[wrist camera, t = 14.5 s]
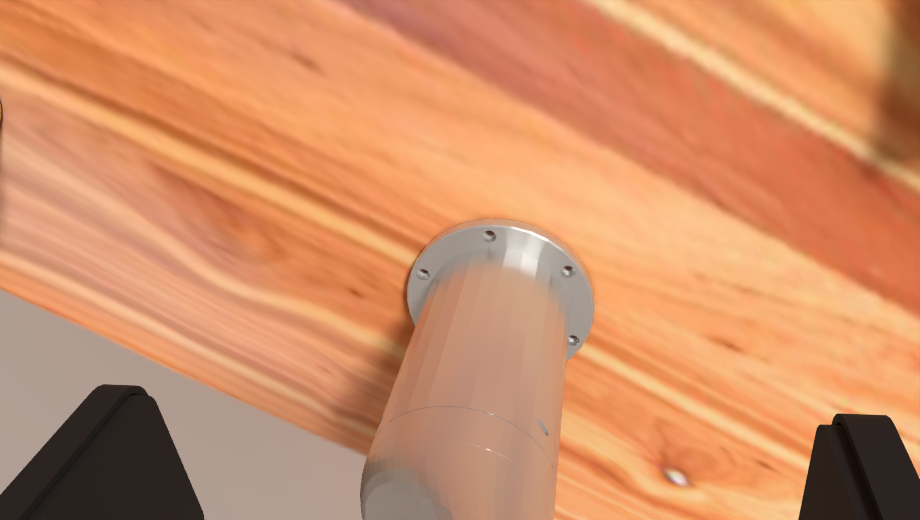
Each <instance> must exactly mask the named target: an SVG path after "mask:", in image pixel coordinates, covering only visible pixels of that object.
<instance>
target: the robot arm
mask: <svg viewBox="0 0 920 520" xmlns="http://www.w3.org/2000/svg"><path fill="white" fill-rule="evenodd" d="M488 230H489V231H492V232H489V231H488ZM567 266H571V267H567ZM407 303H408V307H409V312H410V316H411V318H412V320H413V323H414V325H415V329H414V332H413V335H412V337H411V340H410V343H409V345H408V348H407V351H406V354H405V356H404V359H403V362H402V364H401V367H400V370H399V372H398V375H397V378H396V380H395V383H394V386H393V389H392V391H391V394H390V397H389V399H388V402H387V405H386V407H385V410H384V413H383V415H382V418H381V421H380V424H379V426H378V429H377V432H376V434H375V437H374V440H373V442H372V445H371V448H370V451H369V454H368V457H367V459H366V462H365V465H364V469H363V474H362V481H361V492H360V498H361V512H362V518H363V520H554V511H555V497H556V480H557V467H558V455H559V442H560V430H561V417H562V404H563V392H564V379H565V367H566V361H567V360H569V359H570V358H572V356H573V355H574V354H575V353H576V352H577V351H578V350H579V349H580V348H581V347H582V345H583V344H584V342H585V340H586V339H587V337H588V335H589V332H590V329H591V326H592V323H593V317H594V291H593V287H592V284H591V280H590V277H589V275H588V273H587V271H586V269H585V268H584V266H583V264H582V262H581V261H580V260H579V258H578V257H577V256H576V255H575V254H574V253H573V251H572V250H571V249H570V248H569V247H567V246H566V245H565V244H564V243H563V242H561V241H560V240H559V239H558V238H556V237H555V236H553V235H551V234H549V233H547V232H546V231H544V230H542V229H540V228H537V227H535V226H532V225H529V224H526V223H523V222H518V221H513V220H507V219H481V220H475V221H469V222H465V223H462V224H459V225H457V226H454V227H451V228H449V229H448V230H446V231H444V232H443V233H441V234H439V235H438V236H436V237H435V238H434V239H433V240H432V241H431V242H430V243H429V244H428V245H427V246H425V248H424V249H423V251H422V252H421V254H420V255H419V256H418V258H417V259H416V262H415V264H414V266H413V268H412V271H411V274H410V278H409V282H408V285H407ZM0 520H204V514H203V511H202V509H201V506H200V504H199V502H198V499H197V497H196V494H195V492H194V490H193V488H192V485H191V483H190V480H189V478H188V476H187V473H186V471H185V469H184V466H183V464H182V462H181V459H180V457H179V455H178V452H177V450H176V448H175V445H174V443H173V440H172V438H171V436H170V434H169V431H168V429H167V426H166V424H165V422H164V419H163V417H162V415H161V412H160V410H159V408H158V405H157V403H156V401H155V400H154V398H152V397H151V396H148V394H147V392H146V391H145V389H143V388H142V387H140V386H130V385H107V384H106V385H105V384H104V385H101V386H98V387H97V388H96V389H95V390H93V391H92V392H91V393H90V394H89V395H88V397H87V398H86V399H85V400H84V401H83V402H82V403H81V404H80V406H79V407H78V408H77V409H76V410H75V411H74V412H73V414H72V415H71V416H70V417H69V418H68V419H67V420H66V421H65V423H64V424H63V425H62V426H61V427H60V428H59V429H58V430H57V432H56V433H55V434H54V435H53V436H52V437H51V438H50V439H49V441H48V442H47V443H46V444H45V445H44V446H43V447H42V449H41V450H40V451H39V452H38V453H37V454H36V455H35V456H34V458H33V459H32V460H31V461H30V462H29V463H28V464H27V465H26V467H25V468H24V469H23V470H22V471H21V472H20V473H19V474H18V476H17V477H16V478H15V479H14V480H13V481H12V482H11V483H10V485H9V486H8V487H7V488H6V489H5V490H4V491H3V493H2V494H1V495H0ZM799 520H920V479H919V477H918V474H917V472H916V470H915V468H914V466H913V464H912V461H911V459H910V457H909V455H908V453H907V451H906V449H905V446H904V444H903V442H902V440H901V438H900V436H899V433H898V431H897V429H896V427H895V425H894V423H893V422H892V420H891V418H889V417H888V416H887V415H862V414H836V415H835V417H834V418H833V421H832V425H819V426H818V427H817V431H816V435H815V440H814V445H813V450H812V455H811V460H810V465H809V470H808V475H807V480H806V485H805V490H804V495H803V500H802V505H801V510H800V515H799Z"/></svg>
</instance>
